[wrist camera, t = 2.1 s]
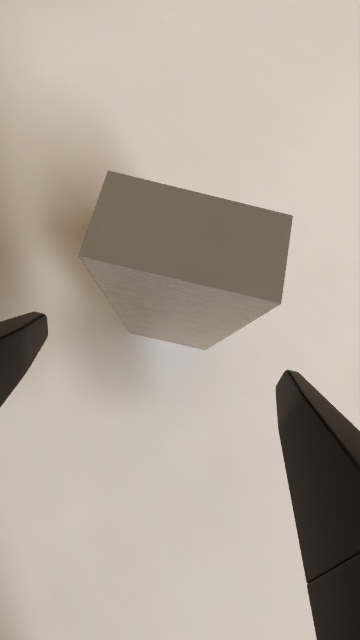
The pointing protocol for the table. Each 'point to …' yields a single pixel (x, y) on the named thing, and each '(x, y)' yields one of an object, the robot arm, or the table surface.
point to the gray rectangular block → (184, 260)
